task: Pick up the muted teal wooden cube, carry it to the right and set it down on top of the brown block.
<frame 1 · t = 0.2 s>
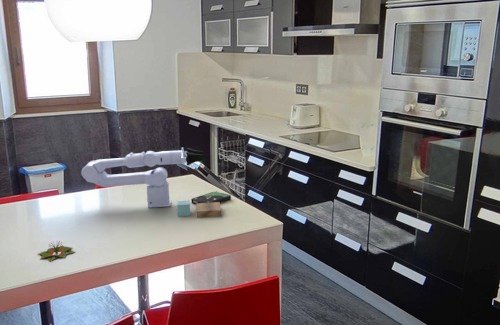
hand: (203, 155, 197), 21 cm above the table, tool horizontal, fingers open, 7 cm apart
teal cube: (184, 214, 188), on the table
lily flower: (56, 255, 153), on the table
disk drive: (211, 203, 203), on the table
brown block: (208, 213, 189), on the table
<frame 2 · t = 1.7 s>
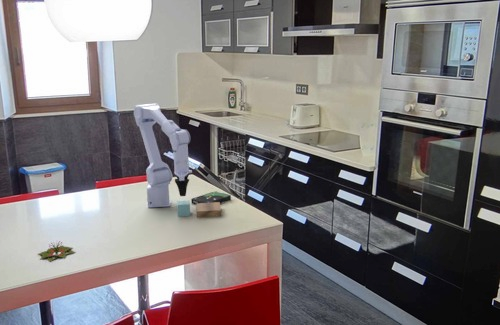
hand: (183, 193, 186), 9 cm above the table, tool pointing down, fingers open, 7 cm apart
nothing on the table moved.
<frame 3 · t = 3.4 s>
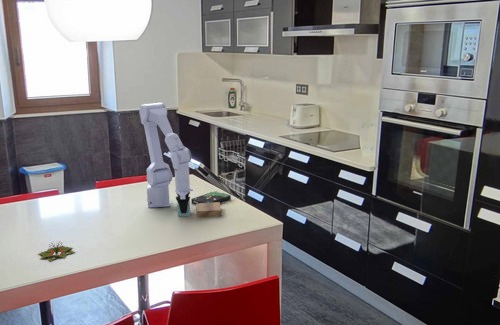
hand: (184, 210, 187), 1 cm above the table, tool pointing down, fingers closed on teal cube, 5 cm apart
teal cube: (184, 213, 188), on the table, touching gripper
everything else where it was.
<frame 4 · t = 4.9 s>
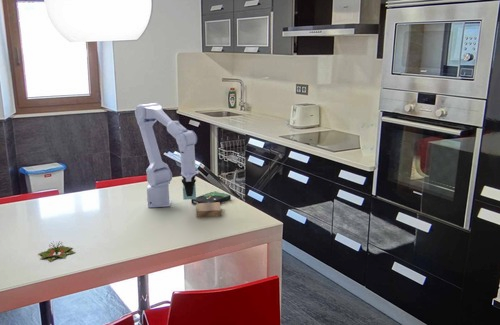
hand: (189, 193, 186), 8 cm above the table, tool pointing down, fingers closed on teal cube, 5 cm apart
teal cube: (189, 197, 186), point 7 cm above the table, touching gripper
everything else where it was.
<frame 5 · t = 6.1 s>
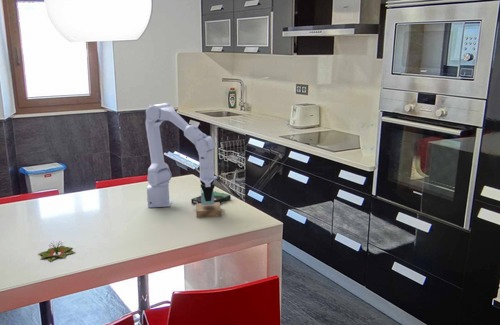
hand: (207, 198, 188), 6 cm above the table, tool pointing down, fingers closed on teal cube, 5 cm apart
teal cube: (207, 202, 188), point 4 cm above the table, touching gripper
everything else where it was.
when the fingers open (6 cm above the table, at t = 6.8 s): teal cube drops 2 cm, point 2 cm above the table.
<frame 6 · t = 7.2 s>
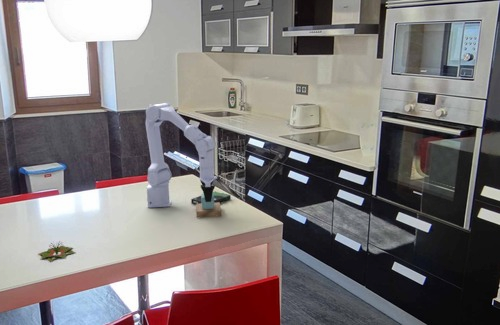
hand: (207, 198, 188), 6 cm above the table, tool pointing down, fingers open, 7 cm apart
teal cube: (208, 206, 188), point 2 cm above the table
everything else where it was.
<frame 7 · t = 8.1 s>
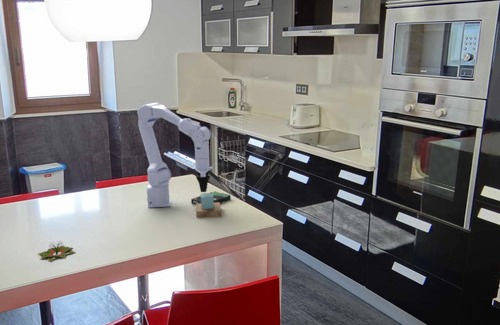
hand: (203, 189, 190), 9 cm above the table, tool pointing down, fingers open, 7 cm apart
teal cube: (207, 206, 188), point 2 cm above the table, touching brown block
brown block: (208, 213, 189), on the table, touching teal cube
everything else where it was.
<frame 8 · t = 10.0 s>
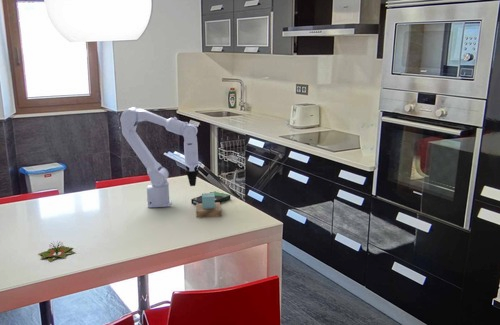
hand: (192, 183, 198), 9 cm above the table, tool pointing down, fingers open, 7 cm apart
nothing on the table moved.
at the end: teal cube 0.1 cm off-centre on the brown block, point 3.0 cm above the brown block's base; teal cube tilted 1°; the gripper is holding nothing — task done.
